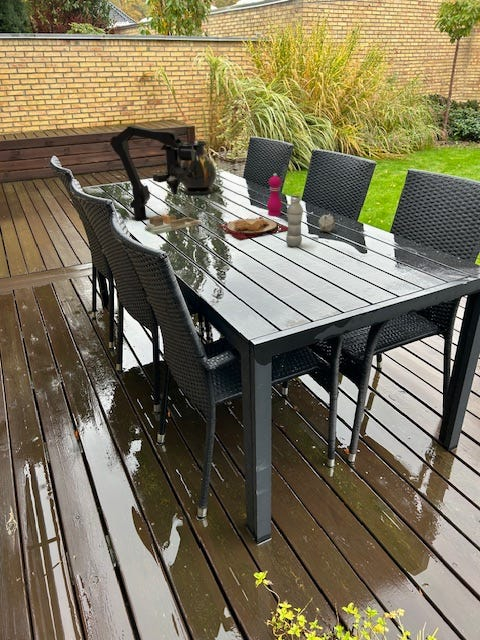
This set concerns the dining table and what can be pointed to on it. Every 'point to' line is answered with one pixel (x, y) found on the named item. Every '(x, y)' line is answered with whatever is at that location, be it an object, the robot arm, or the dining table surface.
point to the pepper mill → (274, 196)
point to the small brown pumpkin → (326, 223)
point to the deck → (175, 225)
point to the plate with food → (251, 227)
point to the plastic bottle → (294, 222)
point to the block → (156, 220)
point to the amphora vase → (199, 171)
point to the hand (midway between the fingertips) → (174, 194)
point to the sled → (165, 222)
